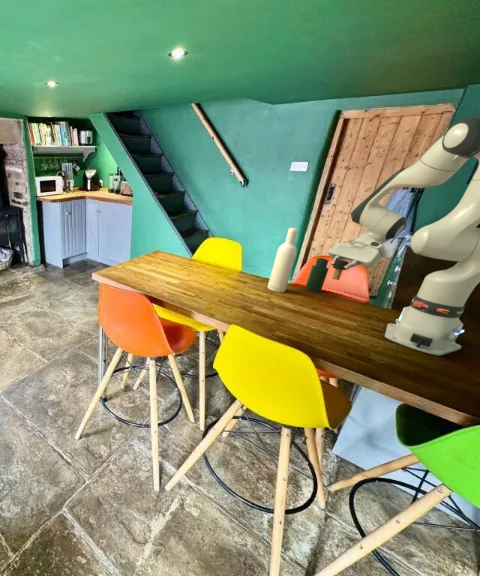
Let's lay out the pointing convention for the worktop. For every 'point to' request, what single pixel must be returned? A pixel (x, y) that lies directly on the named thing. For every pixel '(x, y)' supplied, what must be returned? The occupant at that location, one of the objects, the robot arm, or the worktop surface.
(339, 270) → the stopper
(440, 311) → the robot arm
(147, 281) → the worktop surface
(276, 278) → the bottle
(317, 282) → the bottle
